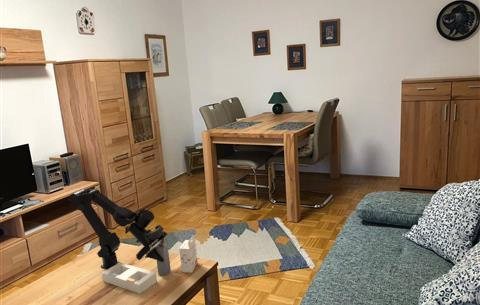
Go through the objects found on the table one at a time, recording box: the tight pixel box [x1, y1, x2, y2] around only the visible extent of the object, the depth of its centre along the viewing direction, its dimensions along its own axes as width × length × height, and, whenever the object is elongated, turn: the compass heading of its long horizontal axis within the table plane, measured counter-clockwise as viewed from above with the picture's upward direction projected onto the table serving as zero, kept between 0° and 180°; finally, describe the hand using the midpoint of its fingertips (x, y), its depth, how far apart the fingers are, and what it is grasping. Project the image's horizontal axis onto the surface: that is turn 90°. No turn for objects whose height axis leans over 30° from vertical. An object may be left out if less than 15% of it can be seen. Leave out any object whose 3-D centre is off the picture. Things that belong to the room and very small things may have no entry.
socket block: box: [101, 261, 158, 294], centre depth 168 cm, size 22×10×4 cm, turn 59°
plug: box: [154, 243, 171, 276], centre depth 172 cm, size 4×4×14 cm
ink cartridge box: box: [178, 234, 198, 274], centre depth 175 cm, size 9×5×15 cm, turn 168°
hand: (165, 258), depth 172 cm, fingers closed on plug, 4 cm apart
